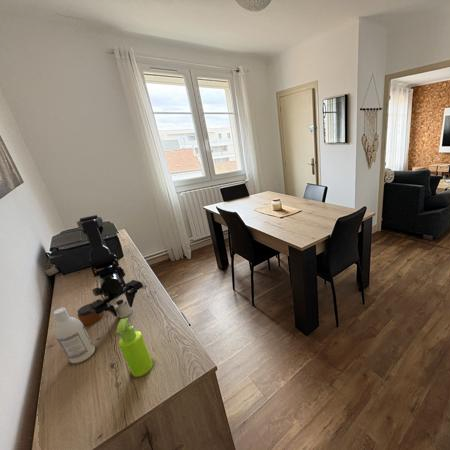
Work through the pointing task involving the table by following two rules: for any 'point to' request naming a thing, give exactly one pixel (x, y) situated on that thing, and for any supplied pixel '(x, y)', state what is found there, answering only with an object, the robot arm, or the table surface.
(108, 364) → the table surface
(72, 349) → the bath foam
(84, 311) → the amber bottle
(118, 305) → the white bottle
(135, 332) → the soap dispenser
